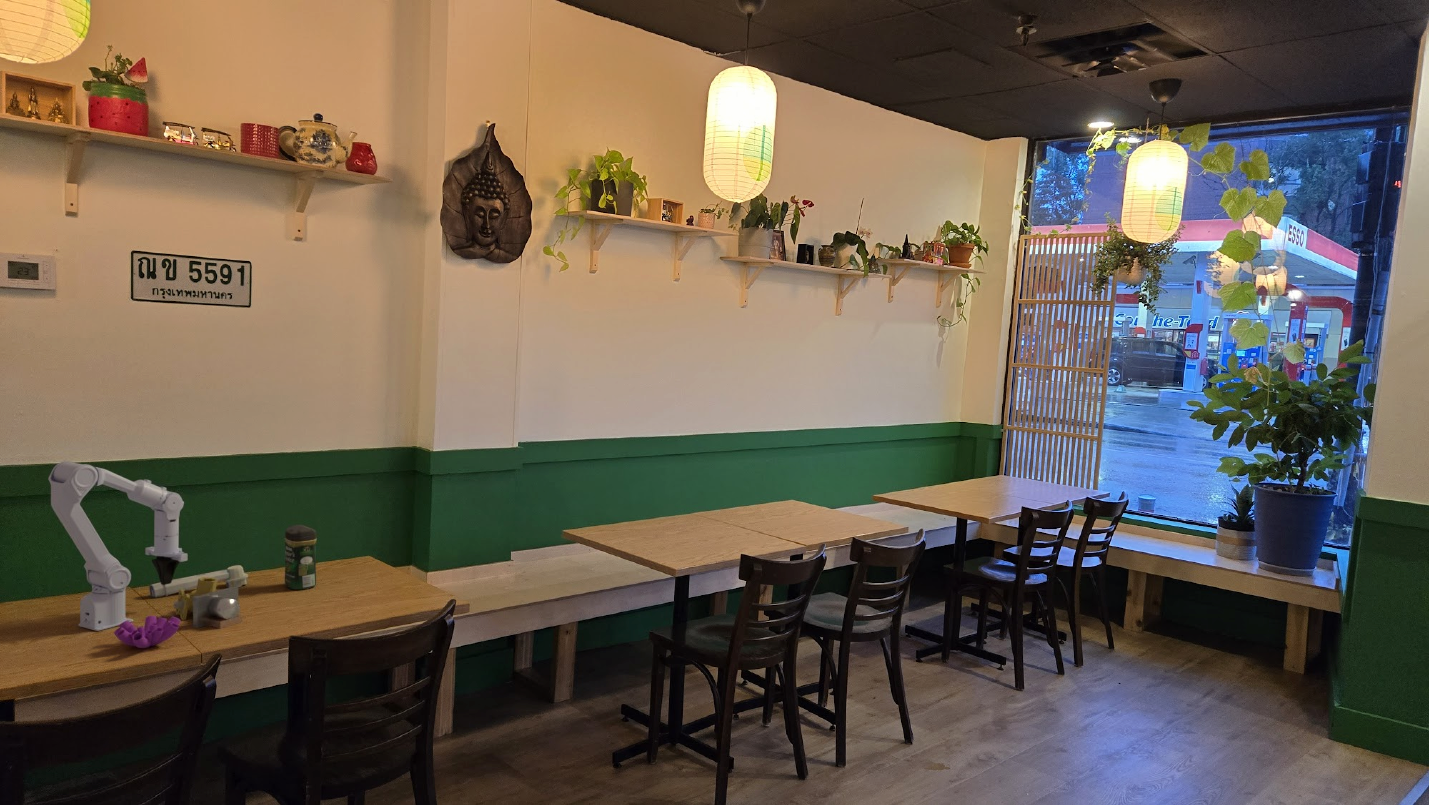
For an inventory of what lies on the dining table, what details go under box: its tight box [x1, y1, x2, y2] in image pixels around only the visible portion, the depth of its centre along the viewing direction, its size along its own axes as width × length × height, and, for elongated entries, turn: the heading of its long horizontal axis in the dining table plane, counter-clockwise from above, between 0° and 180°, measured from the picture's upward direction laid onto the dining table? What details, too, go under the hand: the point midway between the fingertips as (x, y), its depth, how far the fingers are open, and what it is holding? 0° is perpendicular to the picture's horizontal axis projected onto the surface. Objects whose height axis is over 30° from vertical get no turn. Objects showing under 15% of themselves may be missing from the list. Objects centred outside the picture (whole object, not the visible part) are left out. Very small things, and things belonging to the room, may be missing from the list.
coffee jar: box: [284, 524, 318, 591], centre depth 280 cm, size 10×8×19 cm
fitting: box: [192, 586, 243, 629], centre depth 244 cm, size 12×7×8 cm, turn 156°
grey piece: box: [148, 564, 249, 599], centre depth 272 cm, size 5×7×25 cm
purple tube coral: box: [113, 615, 181, 649], centre depth 226 cm, size 11×15×10 cm
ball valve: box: [173, 577, 218, 621], centre depth 250 cm, size 13×10×10 cm
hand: (166, 583), depth 253 cm, fingers closed
